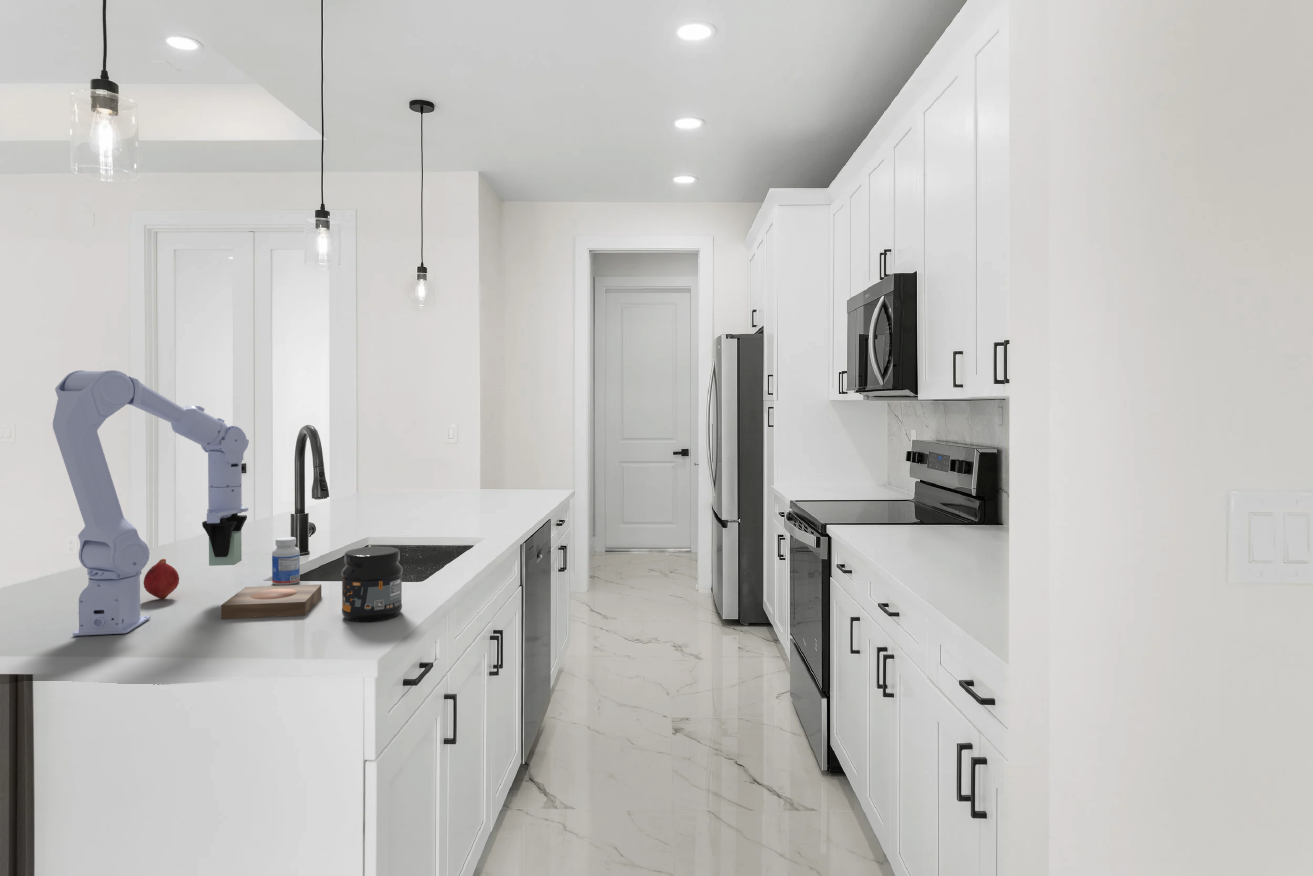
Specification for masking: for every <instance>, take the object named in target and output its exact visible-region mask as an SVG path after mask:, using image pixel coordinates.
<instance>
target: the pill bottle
mask: <svg viewBox="0 0 1313 876" xmlns="http://www.w3.org/2000/svg"><path fill="white" fill-rule="evenodd" d="M296 545H297V538H296V537H294V536H283V537H277V538H275V546H276V547H275V548H274V549H273V550H272V552H271V573H272V574H271V577H272V578H271V579H272V584H273V585H274V586H288V585H295V584H298V583H299V582H300V580H301V579H300V578H301V576H300V575H301V573H300V571H301V570H300V568H301V567H300V565H301V564H300V561H301V560H300V559H301V557H300V553H301V552H300V548H298V547H296Z"/></svg>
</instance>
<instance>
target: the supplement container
mask: <svg viewBox="0 0 1313 876" xmlns="http://www.w3.org/2000/svg"><path fill="white" fill-rule="evenodd" d="M400 554H401V553H400V550H399V549H398V548H395V547H391V546H366V547H359V548H353V549H349V550H346V552H344V559H343V561H344V565H345V566H344V567H343V569H342V570H341V573H340V575H341V577H342V578H341V590H342V591H341V597H342V598H341V599H342V600H341V604H342V605H341V614H342V616H343V617H344V618H345V619H346V620H348V621H351V622H352V621H353V622H357V623H358V622H359V623H360V622H361V623H370V622H371V623H373V622H379V621H385V620H389V619H391V618H395V617H396V616H398V615H399V614H400V613H401V612H402V610H403V603H402V602H403V601H402V600H403V599H402V587H403V586H402V583H403V581H402V579H403V578H402V576H403V567H402V565H401V564H400V563H399V561H400V559H401V558H400ZM394 616H395V617H394Z"/></svg>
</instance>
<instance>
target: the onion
mask: <svg viewBox="0 0 1313 876" xmlns="http://www.w3.org/2000/svg"><path fill="white" fill-rule="evenodd" d="M179 581H180V575H179V573H178V570H176V569H175V568H174V567H173V566H172V565H170V564H169V563H167V559H166V558H161V559H160V560H158V562H157V563H155V564H154V565H153V566H151V567H150V568H149V569H148V570H147V572H146V574H145V576H144V578H143V588H144V589H145V590H146V592H147V593H149V594H150V595H152V596H153V597H156V598H157V599H159V600H164V599H166V598H167V597H168V596H169V595H170V594H172V593H173V592H175V590H176V589H177V588H178V585H179V583H180V582H179Z"/></svg>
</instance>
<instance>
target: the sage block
mask: <svg viewBox="0 0 1313 876" xmlns="http://www.w3.org/2000/svg"><path fill="white" fill-rule="evenodd" d="M242 551H243V550H242V530H241V531H233V532H232V535H231V539H230V547H229V553H228V556H227V557H215V556H214V553H213V549H212V545H211V542H210V539H209V538H208V566H210V567H214V566H215V567H216V566H235V565H236V564H238V563H241V562H242V560H243V559H242V556H243V555H242Z"/></svg>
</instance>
